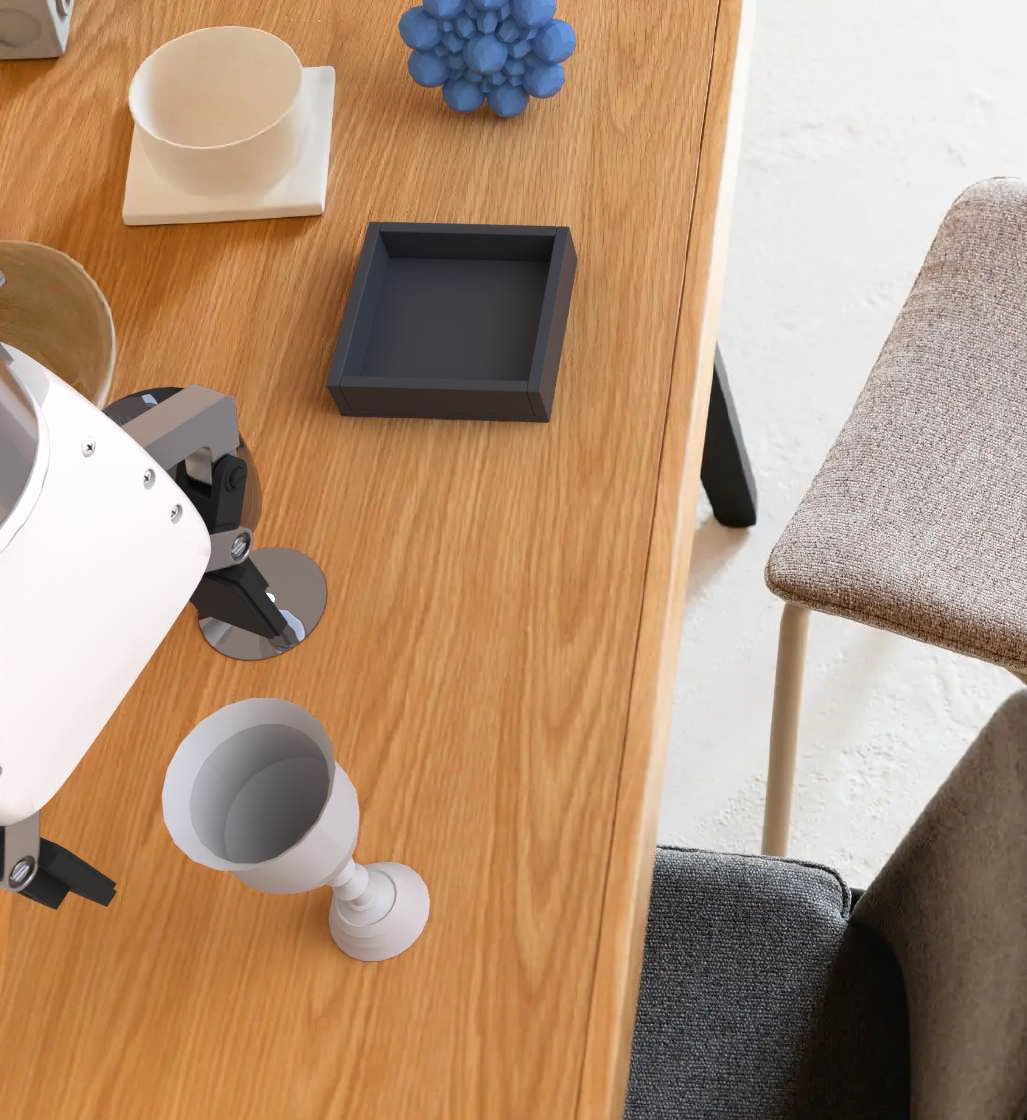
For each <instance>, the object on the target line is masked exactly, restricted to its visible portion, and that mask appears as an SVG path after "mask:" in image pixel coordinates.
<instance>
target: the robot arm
mask: <svg viewBox="0 0 1027 1120" xmlns="http://www.w3.org/2000/svg"><path fill="white" fill-rule="evenodd" d="M7 284H8V280H7V278H6V276H5V274H4V273H3V272H2V271H1V270H0V293H1V292H2V290H4V289H5V287H6V286H7ZM184 388H185V389H183V390H181V391H180V392H178V393H176V394H175V395H173V396H171V397H170V398H168V399H166V400H165V401H163V402H161V403H159V404H158V405H156V406H154V407H153V408H151V409H149V410H148V411H146V412H144V413H143V414H141V415H139V416H138V417H136V418H134V419H133V420H131V421H129V422H128V423H126V424H124V425H123V426H121V427H119V426H118V425H117V424H116V423H115V422H114V421H112V420H111V419H110V418H109V417H107V416H106V415H105V414H104V413H103V412H102V411H101V409H99V408H98V407H97V406H96V405H95V404H93V403H92V402H91V401H90V400H89V399H88V398H87V397H85V396H84V395H83V394H81V393H80V392H79V391H77V390H76V389H75V388H74V387H72V386H71V385H70V384H69V383H68V382H66V381H65V380H64V379H62V378H60V376H58V375H56V374H55V373H54V372H53V371H51V370H50V369H48V368H47V367H45V366H44V365H43V364H41V363H39V361H37V360H36V359H34V358H32V356H31V357H30V356H29V355H28V354H26V353H25V352H23V351H21V350H20V349H18V348H16V347H14V346H12V345H10V344H7V343H4V342H3V341H2V342H1V341H0V889H2V890H4V891H7V892H9V893H12V894H14V893H17V894H18V895H20V896H23V897H25V898H27V899H29V900H31V901H33V902H36V903H38V904H40V905H42V906H44V907H48V908H50V909H52V910H55V911H57V910H58V909H59V908H60V906H61V905H62V903H63V901H64V900H65V898H66V897H67V896H68V894H69V892H70V893H73V894H75V895H78V896H80V897H82V898H84V899H87V900H89V901H91V902H93V903H97V904H98V905H100V906H103V907H107V908H108V907H109V905H110V904H111V902H112V900H113V899H114V898H115V896H116V894H118V890H116V889H115V888H116V886H117V884H118V883H117V882H116V881H114V880H113V879H112V878H110V877H108V876H107V875H106V874H104V873H102V872H101V870H100V871H99V870H98V869H97V868H96V867H94V866H92V865H91V864H90V863H88V862H86V861H85V860H83V858H81V857H79V856H78V855H77V854H75V853H73V852H72V851H71V850H69V849H68V848H66V847H64V846H62V845H61V844H58V843H56V842H54V841H51V840H49V839H46V838H45V837H42V836H41V816H42V815H41V812H42V811H41V809H42V808H43V807H44V806H45V805H46V804H47V803H49V801H50V800H51V799H52V798H53V797H54V796H55V795H56V794H57V793H58V792H59V791H60V789H61V788H62V786H63V785H64V784H65V783H66V781H67V780H68V778H69V777H70V776H71V775H72V773H73V772H74V771H75V769H76V768H77V767H78V765H79V763H80V762H81V761H82V760H83V758H84V756H85V755H86V753H87V752H88V751H89V749H90V748H91V746H92V745H93V744H94V742H95V740H96V739H97V738H98V736H99V735H100V733H101V732H102V730H104V728H105V726H106V725H107V724H108V722H109V720H110V719H111V718H112V716H113V715H114V713H115V711H116V710H117V708H118V707H119V705H120V704H121V703H122V701H123V700H124V698H125V697H126V695H127V694H128V693H129V691H130V689H131V688H132V687H133V685H134V684H135V682H136V680H137V679H138V678H139V676H140V675H141V673H142V672H143V670H144V669H145V667H146V666H147V664H148V663H149V661H150V660H151V659H152V657H153V656H154V654H155V652H156V651H157V649H158V648H159V647H160V645H161V643H162V642H163V640H164V639H165V637H166V636H167V635H168V633H169V632H170V630H171V628H172V627H173V625H174V624H175V622H176V621H177V619H178V617H179V616H180V614H181V613H182V611H183V610H184V608H185V607H186V606H187V604H188V603H189V602H190V603H191V604H192V605H193V607H194V608H195V609H196V610H197V611H198V612H199V611H200V612H201V613H203V614H204V615H207V616H209V617H212V618H214V619H217V620H220V621H222V622H225V623H228V624H230V625H233V626H236V627H239V628H241V629H244V630H247V631H249V632H252V633H255V634H257V635H260V636H263V637H265V638H268V639H273V638H274V637H275V636H278V637H279V636H280V635H281V633H282V632H283V630H284V629H285V627H286V625H287V624H288V622H287V620H286V619H285V618H284V616H283V615H282V614H281V612H280V611H279V610H278V608H277V607H276V606H275V604H274V603H273V602H272V600H271V599H270V598H269V596H268V595H267V594H266V592H265V590H266V589H267V587H268V585H269V584H268V582H267V581H266V580H265V578H264V577H263V576H262V574H261V573H260V571H259V570H258V569H257V567H256V566H255V565H254V563H253V562H252V561H251V559H250V558H249V557H248V555H249V554H250V552H251V551H253V546H254V541H255V538H254V533H252V531H251V530H250V529H249V528H246V527H243V526H240V522H241V515H242V508H243V500H244V493H245V486H246V479H247V464H246V462H245V461H244V460H243V459H241V458H239V457H237V451H236V448H237V447H238V446H240V443H239V432H240V430H239V420H238V412H237V411H238V409H237V402H236V398H234V396H232V395H230V394H227V393H224V392H222V391H220V390H219V391H218V390H215V389H212V388H209V387H207V386H203V385H200V384H198V383H193V384H190V385H188V386H186V387H184ZM238 430H239V431H238ZM176 464H177V469H176V477H175V482H174V481H173V479H172V478H171V477H170V476H169V475H168V474H167V472H166V471H167V470H169V469H170V468H172V467H173V466H175V465H176Z"/></svg>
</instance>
